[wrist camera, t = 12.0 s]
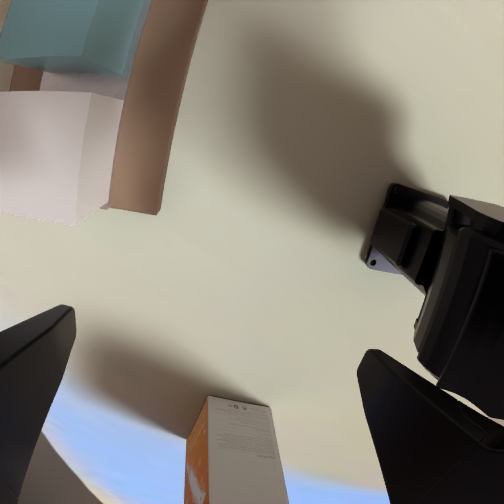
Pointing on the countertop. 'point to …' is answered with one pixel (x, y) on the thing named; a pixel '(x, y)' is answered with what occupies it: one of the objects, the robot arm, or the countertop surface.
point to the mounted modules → (56, 153)
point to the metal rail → (103, 79)
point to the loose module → (69, 35)
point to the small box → (233, 456)
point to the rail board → (147, 103)
